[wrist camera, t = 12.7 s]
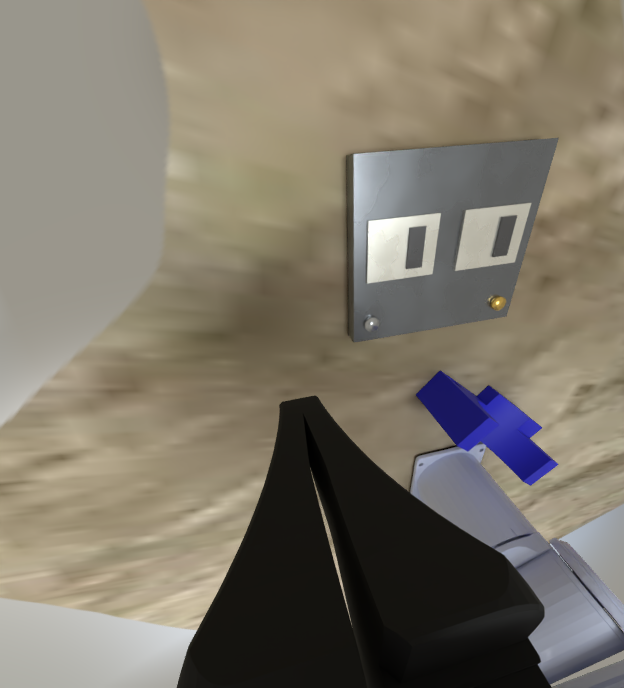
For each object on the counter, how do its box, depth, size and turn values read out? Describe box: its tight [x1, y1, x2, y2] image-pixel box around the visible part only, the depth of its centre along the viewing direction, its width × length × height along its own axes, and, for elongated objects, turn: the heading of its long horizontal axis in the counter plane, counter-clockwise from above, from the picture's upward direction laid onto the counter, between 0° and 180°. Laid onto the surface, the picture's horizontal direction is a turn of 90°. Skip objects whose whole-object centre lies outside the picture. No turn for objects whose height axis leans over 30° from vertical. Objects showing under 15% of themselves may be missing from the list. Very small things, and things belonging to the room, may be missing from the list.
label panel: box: [346, 138, 559, 342], centre depth 18 cm, size 11×12×2 cm
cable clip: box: [416, 371, 558, 486], centre depth 25 cm, size 12×4×6 cm, turn 52°
